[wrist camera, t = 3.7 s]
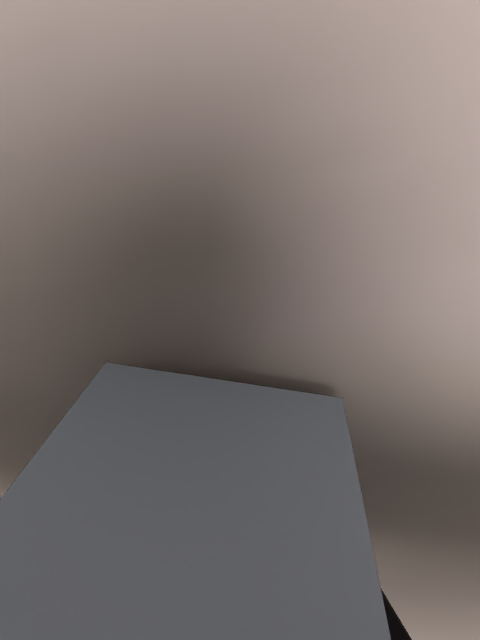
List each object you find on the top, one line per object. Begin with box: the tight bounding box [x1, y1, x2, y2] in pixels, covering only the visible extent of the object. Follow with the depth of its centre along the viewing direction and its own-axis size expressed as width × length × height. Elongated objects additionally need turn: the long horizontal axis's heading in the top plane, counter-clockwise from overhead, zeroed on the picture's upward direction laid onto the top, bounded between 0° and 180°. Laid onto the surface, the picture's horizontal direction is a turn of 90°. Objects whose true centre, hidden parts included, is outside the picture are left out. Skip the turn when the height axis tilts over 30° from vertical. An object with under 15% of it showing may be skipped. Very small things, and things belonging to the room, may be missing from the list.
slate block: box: [0, 363, 391, 640], centre depth 7 cm, size 5×5×7 cm
